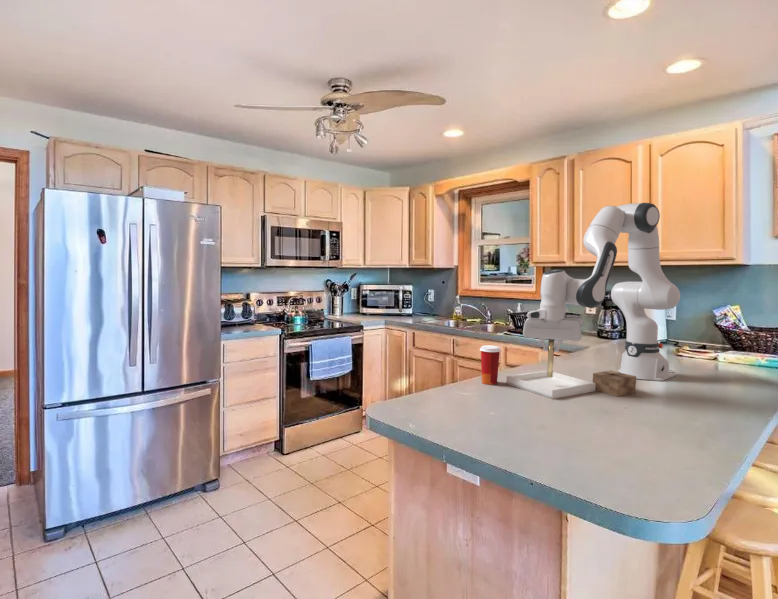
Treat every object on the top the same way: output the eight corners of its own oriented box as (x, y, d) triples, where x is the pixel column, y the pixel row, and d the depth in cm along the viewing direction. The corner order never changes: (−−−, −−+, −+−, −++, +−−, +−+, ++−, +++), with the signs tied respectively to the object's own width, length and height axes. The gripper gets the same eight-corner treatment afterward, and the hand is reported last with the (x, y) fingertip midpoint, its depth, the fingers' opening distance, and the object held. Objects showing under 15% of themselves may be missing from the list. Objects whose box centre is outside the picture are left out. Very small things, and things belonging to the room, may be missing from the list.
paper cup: (498, 380, 176) (499, 345, 175) (501, 385, 169) (502, 348, 168) (477, 380, 177) (478, 344, 176) (479, 385, 170) (480, 348, 168)
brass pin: (549, 375, 169) (551, 335, 168) (556, 377, 166) (557, 337, 165) (543, 376, 168) (545, 336, 166) (550, 378, 165) (551, 337, 164)
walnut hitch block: (609, 386, 170) (610, 370, 170) (635, 392, 161) (636, 376, 161) (592, 389, 165) (593, 373, 165) (617, 396, 156) (618, 379, 156)
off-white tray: (547, 377, 182) (547, 370, 182) (595, 391, 163) (595, 382, 163) (506, 383, 172) (506, 376, 172) (552, 399, 153) (552, 390, 152)
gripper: (582, 314, 164) (581, 352, 165) (524, 311, 172) (523, 347, 173) (583, 316, 159) (581, 355, 160) (523, 313, 166) (521, 350, 167)
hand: (550, 351), depth 166 cm, fingers closed on brass pin, 2 cm apart
